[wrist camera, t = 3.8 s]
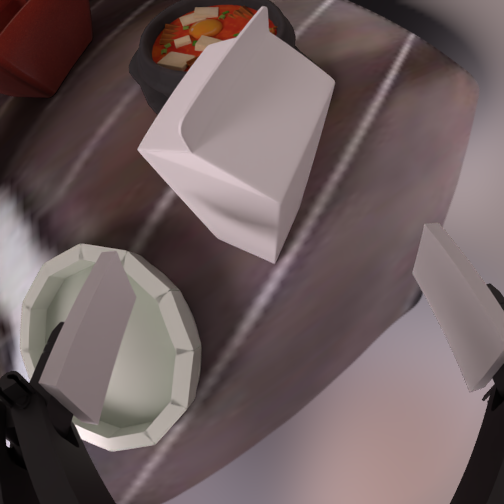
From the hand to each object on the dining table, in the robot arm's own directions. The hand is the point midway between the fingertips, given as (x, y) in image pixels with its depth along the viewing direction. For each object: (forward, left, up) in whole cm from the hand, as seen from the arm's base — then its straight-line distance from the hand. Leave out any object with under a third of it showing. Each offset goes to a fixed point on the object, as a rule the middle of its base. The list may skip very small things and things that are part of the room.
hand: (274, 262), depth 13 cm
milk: (-6, +1, -16) cm, 17 cm away
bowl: (0, -18, -16) cm, 24 cm away
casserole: (-25, +4, -16) cm, 30 cm away
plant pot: (-45, -20, -16) cm, 52 cm away
